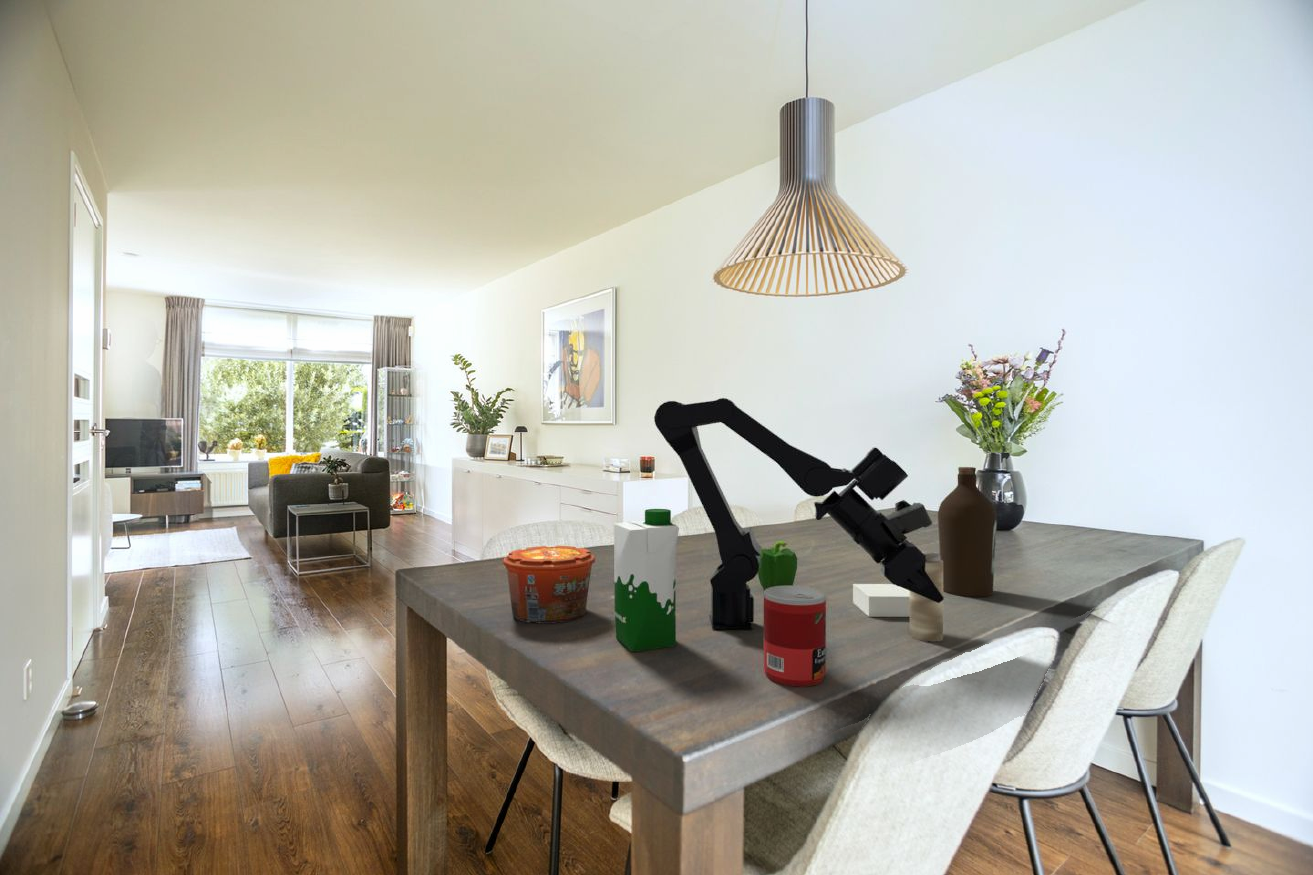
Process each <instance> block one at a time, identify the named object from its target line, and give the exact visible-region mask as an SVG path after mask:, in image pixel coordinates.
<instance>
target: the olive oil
mask: <svg viewBox="0 0 1313 875" xmlns="http://www.w3.org/2000/svg"><path fill="white" fill-rule="evenodd" d="M957 469H958V474H957V486H956V487H955V488H954V489H953V490H952V491H951V492H950V493H949V494H948V495H947V496H946V497H945V498H944V499H943V500H942V501H941V502H940V505H939V506H938V511H937V524H938V525H937V526H938V540H939V546H938V547H939V554H940V560H942V561H943V592H945V593H946V594H947V593H948V594H952V595H955V596H961V597H969V598H970V597H971V598H984V597H990V596H992V595H993V593H994V578H995V577H994V575H995V558H996V557H995V555H996V554H995V553H996V542H997V541H996V540H997V539H996V538H997V526H998V525H997V524H998V519H997V518H998V515H997V511H996V508H995V506H994V504H993V502H991V500H990V499H989V498H988V497H987V496H986V495H985V494H984V493H983V492H982V491H981V490H980V489H979V488H978V486H977V474H976V471H977V470H976V467H973V466H972V467H971V466H960V467H958V468H957Z"/></svg>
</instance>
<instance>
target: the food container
mask: <svg viewBox="0 0 1313 875" xmlns="http://www.w3.org/2000/svg"><path fill="white" fill-rule="evenodd" d="M595 562H596V557H595V555H594V554H593V553H591V550H589V549H587V548H583V547H579V548H577V547H576V546H570V545H556V546H546V545H543V546H542V545H541V546H531V547H526V548H525V549H520V548H519V549H515V550H512V551H510V552H509V553H508V554H507V556H505V557H503V560H502V566H503V569H504V570H506V572H507V580H508V582H507V583H508V589H509V596H510V597H509V599H510V606H511V613H512V615H513V617H514V618H515V619H516V620H518V619H519V621H521V622H525V621H529V622H528V623H530V622H536V623H535V624H554V623H553V622H559V623H562V622H561V621H565V622H569V621H573V620H575V619H578V618H581V617H583V616H584V615H585V614H586V610H587V604H588V596H589V587H590V580H591V574H592V573H591V572H592V565H593V564H594V563H595ZM537 622H538V623H537ZM539 622H540V623H539Z"/></svg>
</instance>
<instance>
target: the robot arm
mask: <svg viewBox="0 0 1313 875" xmlns="http://www.w3.org/2000/svg"><path fill="white" fill-rule="evenodd" d="M653 419H654V424H655V426H656V428H657V430H658V431H659V433H660V434H661V435H662V437H663V438H664V439H665V441H666V442H667V444H668V445H669V446H670V447H671V448H672V450H673V451H674V452H675V453H676V455H677V456H678V458H679V459H680V461H681V463H682V464H683V467H684V469H685V471H686V473H687V475H688V476H687V477H688V478H689V479H690V482H691V484H692V486H693V488H694V490H695V493H696V495H697V496H698V499H699V500H700V503H701V505H702V507H703V509H704V512H705V514H706V516H707V517H708V520H709V522H710V524H711V526H712V528H713V531H714V533H715V537H716V542H717V547H718V553H719V556H720V560H721V563H720V565H718V566H717V567H716V568H715V570H714V571H713V574H712V576H711V578H710V580H709V582H710V614H709V621H710V625H711V628H712V629H714V630H752V629H753V625H752V623H754V620H755V608H754V607H755V602H754V601H755V598H754V596H753V595H752V594H751V587H750V585H748V582H750V581H752V580H753V579H754V578H755V577H756V576H758V570H759V566H760V560H761V556H760V553H761V549H763V548H762V546H761V545H760V544H759V543H758V541H757V540H756V536H755V534H754V531H753V528H752V526H749V527H748V528H747V529H744V528H743V527H742V526H741V525H740V524H739V522H738V521H737V519H736V518H735V515H734V513H733V511H732V509H731V506H730V504H729V502H728V501H727V499H726V496H725V495H724V492H723V490H722V488H721V486H720V483H719V482H718V479H717V478H716V475H715V473H714V470H713V469H712V467H711V465H710V463H709V461H708V459H707V456H706V454H705V452H704V450H703V448H702V444H701V440H700V434H699V429H698V427H700V426H701V427H703V426H706V425H712V424H718V423H722V424H723V425H724V426H725V427H727V428H728V429H730V430H731V431H732V432H734V433H735V434H737V435H738V436H739V437H740V438H742V439H744V440H745V441H747V443H749V444H751V445H752V446H753V447H755V448H756V449H757V450H758V451H759V452H761V453H763V454H764V455H766V456H767V457H768V458H770V459H771V460H772V461H773V462H775V463H777V465H778V466H779V467H780V468H781V469H782V470H783V471H784V473H786V474H787V475H788V477H790V478H791V480H792V481H793V482H794V483H795V484H797V486H798V487H799V488H800V489H801V490H802V491H803V492H804V493H805V494H807V495H809V496H810V497H815V498H816V497H823V496H825V495H828V496H827V497H826V498H825V499H824V500H823V501H814V502H813V505H814V508H815V513H814V517H815V519H816V520H817V521H821V520H822V518H824V517H825V516H826V515H828V516H830V517H831V519H832V520H833V521H835V523H836V524H837V525H839V526H840V527H841V529H843V531H845V532H846V533H847V534H848V535H849V537H851V539H852V540H853V542H855V543H856V544H857V545H859V546H860V547H861V548H862V549H863V550H864V551H865V552H866V553H867V554H868V555H869V557H870V558H872V560H873V561H874V562H875V563H876V564H877V565H878V564H880V572H881V573H882V574H883V576H884V577H885V578H886V579H887V580H888V581H889V582H890V584H893V585H896V586H899V587H902V588H904V589H907V590H909V591H912V592H914V593H916V594H919V595H921V596H923V597H926V598H928V599H930V600H932V601H935V602H937V603H940V602H941V601H942V600H943V601H944V599H945V597H944V595H943V596H942V594H941V593H940V592H939V590H938V589H937V587H936V586H935V584H934V583H933V582H932V580H931V579H930V577H929V576H928V574H927V573H926V571H925V563H926V556H925V555H924V554H923V553H922V552H921V551H922V550H920V549H919V548H918V547H917V545H915V544H914V543H913V542H910V541H909V540H907V539H908V537H907V536H906V535H908V534H909V533H912V532H914V531H917V530H919V529H922V528H927V527H930V526H931V525H933V521H932V519H931V517H930V515H929V513H928V511H927V509H926V507H925V505H924V504H923V503H921V502H913V503H912V504H910V503H909V502H908V501H906V500H905V499H902V500H899V501H897V502H896V503H894V506H895V507H894V511H892V512H891V513H890V514H888V515H886V516H885V514H883V513H881V512H880V511H877V510H876V509H875V508H874V507H873V506H872V505H871V504H870V503H869V502H868V501H867V500H865V499H864V497H863V496H862V495H860V494H859V492H857V491H856V490H855V489H854V488H856V487H857V488H858V489H859V490H860V491H861V492H862V493H863V494H864V495H866V497H867V498H868V499H870V500H871V501H874V500H877V499H880V500H881V501H883V500H885V499H886V497H888V496H889V495H890V494H891V493H892V492H893V491H894V490H895V489H896V488H897V487H899V485H901V484H902V482H904V481H905V480H906V479H907V478H908V477H909V475H908V474H907V472H906V471H905V470H904V469H903V468H902V467H901V466H900V465H899V464H898V463H897V462H895V461H894V460H892V459H890V457H888V456H887V455H886V454H885V453H883V452H882V451H881V450H880V449H879V448H878V447H872V448H871V449H870V450H869V451H868V452H867V453H866V454H865V457H864V458H863V459H861V460H860V461H859V462H858V463H857V464H856V465H855V466H854V467H853V468H852V469H851V470H850V469H849V470H848V469H846V468H845V467H844V468H837V467H836V468H835V467H832V466H831V465H829V463H827V462H826V461H824V460H822V459H820V458H818V457H815V456H814V455H811V454H810V453H808V452H806V451H804V450H801V449H799V448H797V447H795V446H793V445H791V444H789V442H787V441H785V440H784V439H783V438H781V437H780V436H778V435H777V434H775V433H774V432H773V431H771V430H770V429H769V428H767V427H766V426H765V425H763V424H762V423H760V422H759V421H757V420H756V419H755V418H753V417H752V416H750V415H749V414H748V413H746V412H745V411H743V409H741V408H740V407H738V405H736V404H735V402H734V401H732V400H731V399H728V398H724V397H721V398H718V399H716V400H709V401H701V402H694V403H687V404H685V403H682V402H679V401H676V400H668V401H665V402H663V403H662V404H660V405H659V406H658V408H657V409H656V411H655V414H654V417H653ZM839 487H845V488H844V489H843V490H842V491H840V492H839V493H838V492H837V491H836V490H833V489H834V488H839ZM832 490H833V491H832ZM831 491H832V492H831ZM830 492H831V493H830ZM829 493H830V494H829Z"/></svg>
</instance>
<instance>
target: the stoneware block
mask: <svg viewBox="0 0 1313 875" xmlns="http://www.w3.org/2000/svg"><path fill="white" fill-rule="evenodd" d="M852 603H853V604H854V605H855V606H856V607H857V608H858V609H859V610H861V611H862V612H863V613H864V614H865V615H867V617H871V618H873V617H875V618H877V617H880V618H881V617H884V618H885V617H888V618H889V617H890V618H891V617H893V618H894V617H896V618H898V617H899V618H901V617H902V618H903V617H904V618H906V617H909V618H910V591H909V590H907V589H904V588H902V587H899V586H896V585H893V584H892V583H853V584H852Z"/></svg>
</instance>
